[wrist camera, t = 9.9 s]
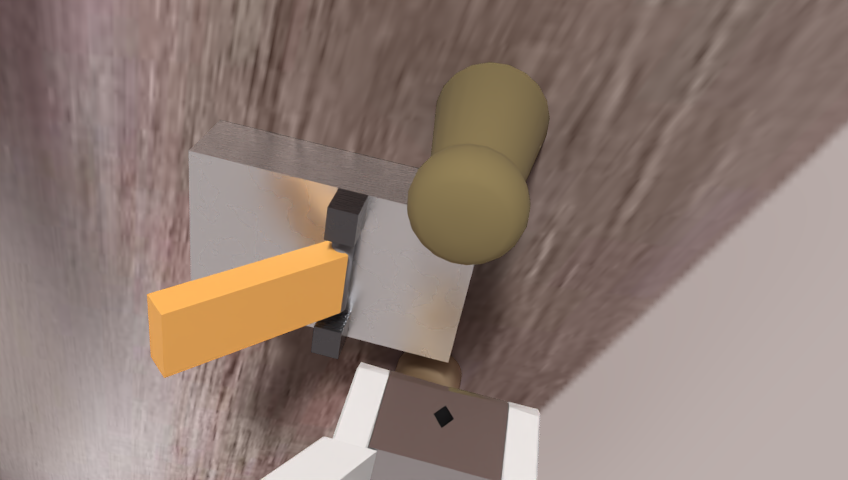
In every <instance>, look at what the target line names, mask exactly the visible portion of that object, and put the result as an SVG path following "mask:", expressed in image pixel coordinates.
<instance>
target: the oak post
mask: <svg viewBox="0 0 848 480" xmlns="http://www.w3.org/2000/svg"><path fill="white" fill-rule="evenodd" d="M395 372H399V373H402V374H406V375H409V376H413V377H416V378H419V379H423V380H426V381H430V382H433V383H436V384H440V385H443V386H447V387H453V388H457V389H459V386H460V381H461V369H460V366H459V364H458V363H457V361H456V360H455V359H454V358H453V357H452V356H451V355H450V358H449V362H448V363H447V362H443V361H440V360H436V359H432V358H428V357H424V356H420V355H416V354H413V353H409V352H405V353H404V354H402V356H401V357H400V359H399V361H398V364H397V367H396V371H395Z"/></svg>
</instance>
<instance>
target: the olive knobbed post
mask: <svg viewBox="0 0 848 480" xmlns="http://www.w3.org/2000/svg"><path fill="white" fill-rule="evenodd" d="M549 119H550V118H549V111H548V105H547V100H546V98H545V97H544V95H543V93H542V91H541V89H540V87H539V85H537V84H536V83H535V82H534V81H533V80H532V79H531V78H530V77H529V76H528V75H527V74H526V73H524V72H522V71H520V70H518V69H516V68H514V67H512V66H510V65H505V64H498V63H491V62H489V63H483V64H477V65H472V66H470V67H468V68H466V69H464V70H462V71H460V72H458V73H456V74H455V75H454V76H453V77H452V78H451V79H450V80H449V81H448V82H447V83H446V84H445V86H444V87H443V89H442V91H441V94H440V96H439V98H438V100H437V105H436V114H435V123H434V132H433V142H432V151H431V157H430V158H429V159H428V160H427V161H426V162H425V163H424V164H423V165H422V166H421V167H420V168H419V169H418V171H417V173H416V175H415V177H414V179H413V181H412V183H411V186H410V188H409V190H408V200H407V214H408V217H409V221H410V225H411V228H412V230H413V232H414V233H415V235H416V236H417V238H418V239H419V241H420V242H421V243H422V244H423V245H424V246H425V247H426V248H427V249H428V250H429V251H431V252H432V253H433V254H434V255H436V256H437V257H440V258H442V259H444V260H446V261H448V262H451V263H456V264H462V265H475V264H483V263H487V262H489V261H492V260H494V259H497V258H500V257H502V256H503V255H504V254H506V253H507V252H508V251H509V250H511V249H512V248H513V247H514V246H515V245H516V243H517V242H518V240H519V239H520V237H521V235H522V234H523V232H524V230H525V229H526V227H527V223H528V217H529V212H530V198H529V192H528V187H527V184H526V180H527V178H528V175H529V173H530V171H531V169H532V166H533V164H534V162H535V159H536V157H537V155H538V153H539V150H540V148H541V146H542V144H543V141H544V139H545V137H546V134H547V129H548V124H549Z"/></svg>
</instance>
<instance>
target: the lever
mask: <svg viewBox="0 0 848 480" xmlns="http://www.w3.org/2000/svg"><path fill="white" fill-rule="evenodd" d="M354 247H355V246H354ZM354 247H350V246H346V245H342V244H338V243H334V242H330V241H325V242H321V243H318V244H315V245H311V246H308V247H304V248H301V249H298V250H294V251H291V252H288V253H284V254H281V255H277V256H274V257H271V258H267V259H264V260H261V261H257V262H254V263H251V264H247V265H244V266H240V267H237V268H234V269H230V270H227V271H224V272H220V273H217V274H213V275H210V276H207V277H203V278H200V279H197V280H193V281H190V282H186V283H183V284H180V285H176V286H173V287H170V288H166V289H163V290H160V291H156V292H153V293H149V294H147V302H148V318H149V334H150V350H151V358H152V359H153V361H154V363H155V364H156V366H157V367H158V369H159V370H160V372H161V374H162V375H163V377H164V378H166V377H168V376H171V375H174V374H176V373H179V372H182V371H185V370H187V369H190V368H193V367H195V366H198V365H201V364H203V363H206V362H209V361H212V360H214V359H217V358H220V357H222V356H225V355H228V354H230V353H233V352H236V351H239V350H241V349H244V348H247V347H249V346H252V345H255V344H257V343H260V342H263V341H266V340H268V339H271V338H274V337H276V336H279V335H282V334H284V333H287V332H290V331H293V330H295V329H298V328H301V327H303V326H306V325H309V324H312V323H314V322H317V321H320V320H322V319H325V318H328V317H330V316H333V315H336V314H339V313H340V312H343V311H344V310H345V309H346V303H347V296H348V289H349V282H350V275H351V268H352V261H353V254H354Z"/></svg>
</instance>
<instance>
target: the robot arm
mask: <svg viewBox="0 0 848 480" xmlns="http://www.w3.org/2000/svg"><path fill="white" fill-rule="evenodd" d="M539 430H540V413H539V411H538V409H535V408H531V407H527V406H523V405H519V404H515V403H511V402H508V403H507V401H504V400H500V399H496V398H492V397H488V396H484V395H480V394H476V393H472V392H468V391H464V390H460V389H457V388H453V387H447V386H443V385H440V384H436V383H433V382H430V381H426V380H423V379H419V378H416V377H413V376H409V375H406V374H402V373H399V372H395V371H392V370H391V372H390V370H386V369H383V368H380V367H376V366H373V365H369V364H366V363H363V362H361V363H360V365H359V366H358V368H357V370H356V373H355V376H354V379H353V381H352V384H351V387H350V390H349V393H348V396H347V398H346V401H345V404H344V407H343V410H342V413H341V416H340V418H339V421H338V424H337V427H336V430H335V433H334V435H333V438H328V437H324V436H323V437H322V438H321V439H319V440H318V441H316V442H315V443H313V444H312V445H310V446H309V447H307V448H306V449H304V450H303V451H302V452H300V453H299V454H297V455H296V456H294V457H293V458H291V459H290V460H288V461H287V462H285V463H284V464H283V465H281V466H280V467H278V468H277V469H275V470H274V471H272V472H271V473H269V474H268V475H266V476H265V477H264V478H262V479H261V480H537V475H538V452H539Z"/></svg>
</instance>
